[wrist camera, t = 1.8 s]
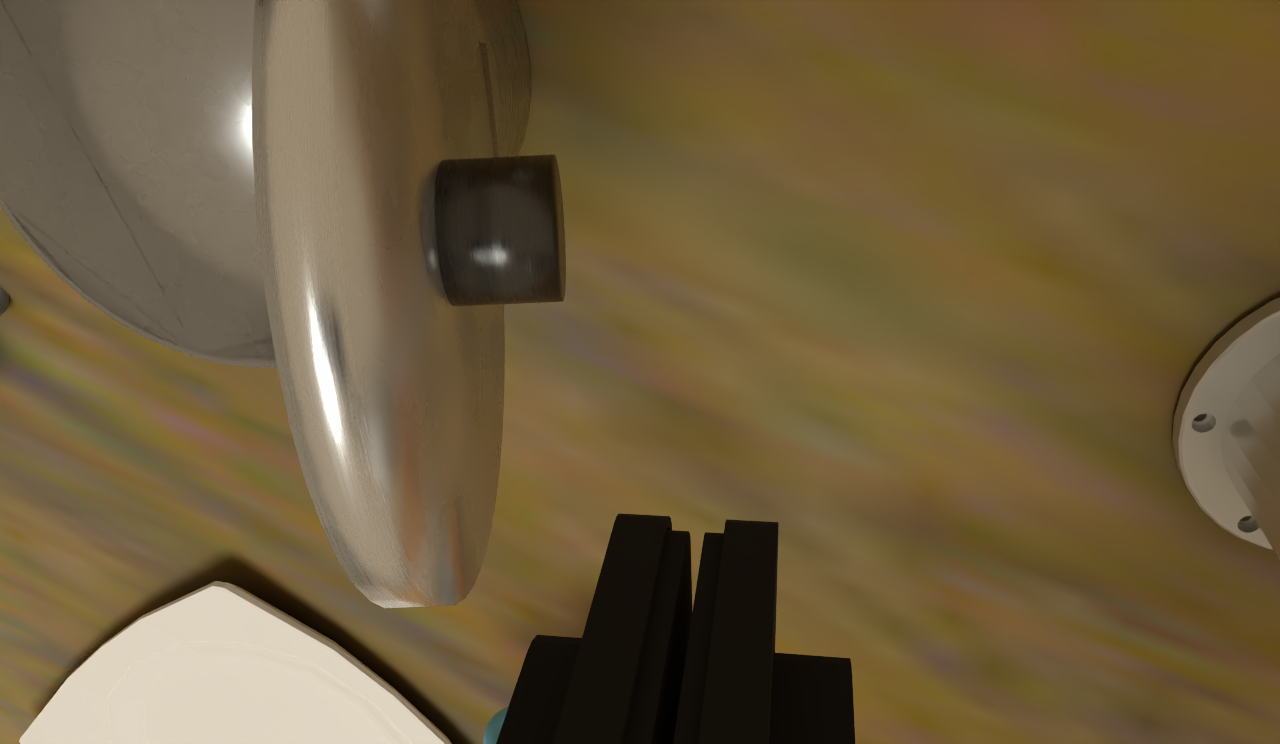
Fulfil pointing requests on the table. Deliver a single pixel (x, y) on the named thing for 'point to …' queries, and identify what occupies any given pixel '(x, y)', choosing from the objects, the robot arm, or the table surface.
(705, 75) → the table surface
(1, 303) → the toy car
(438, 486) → the lid
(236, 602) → the plate
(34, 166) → the pot
